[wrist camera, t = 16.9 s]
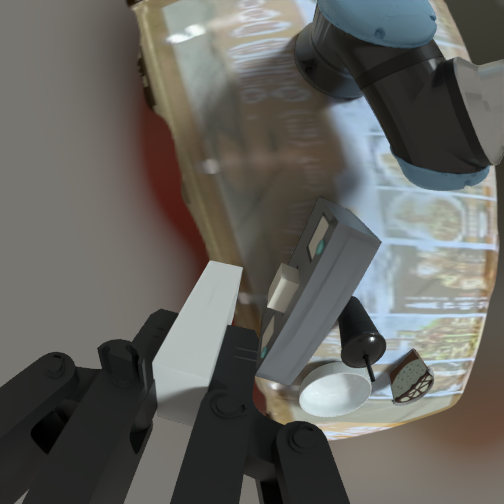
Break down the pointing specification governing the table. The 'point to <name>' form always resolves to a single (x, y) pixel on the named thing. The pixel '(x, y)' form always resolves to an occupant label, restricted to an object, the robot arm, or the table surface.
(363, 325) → the drinking cup
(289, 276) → the key middle
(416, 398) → the mint chip dessert
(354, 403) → the cereal bowl
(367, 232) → the keypad
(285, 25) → the table surface
